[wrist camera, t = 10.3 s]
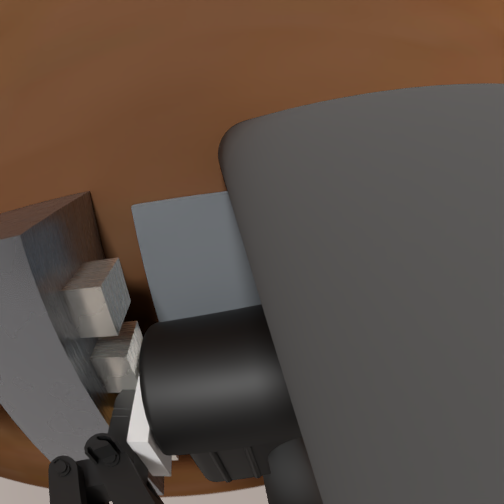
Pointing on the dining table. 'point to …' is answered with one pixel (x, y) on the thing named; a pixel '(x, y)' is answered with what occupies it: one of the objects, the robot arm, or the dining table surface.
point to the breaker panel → (63, 327)
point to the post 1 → (291, 475)
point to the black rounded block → (217, 392)
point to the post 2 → (384, 284)
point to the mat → (194, 256)
